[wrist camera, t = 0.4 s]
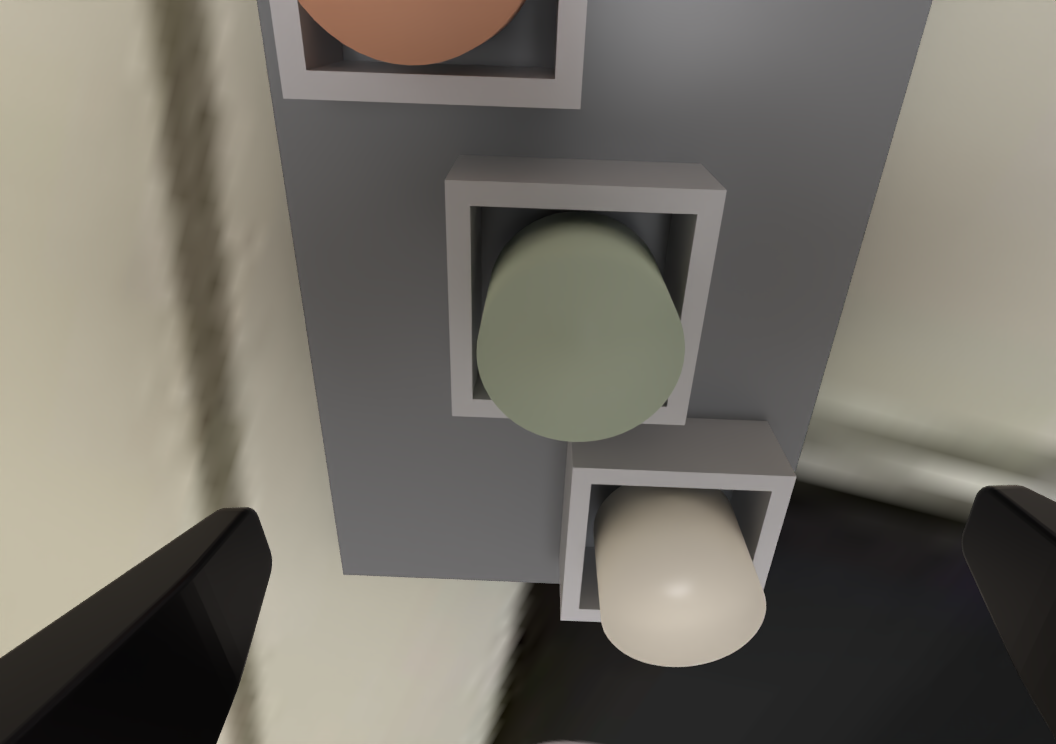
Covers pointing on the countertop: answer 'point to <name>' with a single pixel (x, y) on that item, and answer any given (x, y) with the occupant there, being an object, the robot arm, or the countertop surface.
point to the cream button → (675, 575)
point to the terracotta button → (412, 26)
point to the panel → (590, 186)
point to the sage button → (578, 329)
